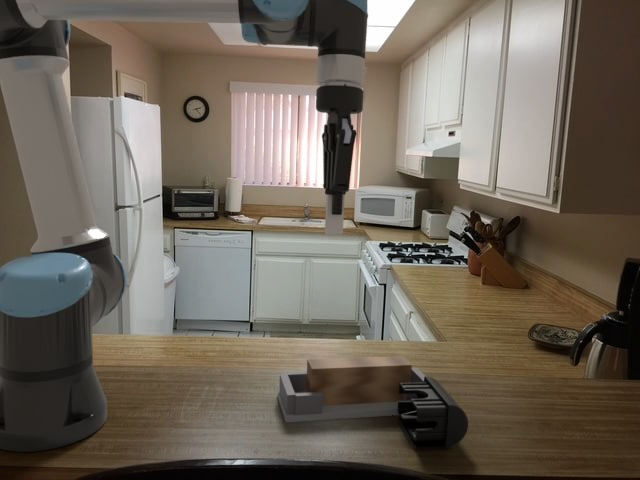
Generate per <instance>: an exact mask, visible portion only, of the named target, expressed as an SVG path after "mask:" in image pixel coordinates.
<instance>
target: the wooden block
mask: <svg viewBox="0 0 640 480" xmlns="http://www.w3.org/2000/svg"><path fill="white" fill-rule="evenodd" d="M306 363H307V365H306V372H307V383H306V393H310V392H322V394H323V400H322V406H327V405H345V404H364V403H383V402H398V401H403V400H404V394H399V383H411V369H412V368H413V364H411V362H410V361H409V360H408V359H406V358H405V357H404V356H403V355H395V356H392V355H391V356H366V357H365V356H364V357H360V356H359V357H340V358H339V357H336V358H333V357H332V358H313V359H312V358H309V359H306Z"/></svg>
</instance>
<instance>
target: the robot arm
mask: <svg viewBox="0 0 640 480" xmlns="http://www.w3.org/2000/svg"><path fill="white" fill-rule="evenodd" d="M368 12H369V11H368V0H0V89H1V93H2V96H3V101H4V104H5V105H4V106H5V108H6V113H7V117H8V120H9V125H10V127H11V133H12V136H13V140H14V144H15V150H16V152H17V156H18V161H19V164H20V165H19V166H20V169H21V171H22V173H21V174H22V177H23V180H24V184H25V189H26V192H27V196H28V201H29V205H30V208H31V212H32V216H33V220H34V224H35V227H36V232H37V240H36V241H35V242H34V243H33V245H32V247H31V248H30V254H31V255H30V256H20V257H18V258H15V259H13V260H10V261H9V262H6V263H5V264H3V265H2V266H1V267H0V449H1V450H5V451H9V452H10V451H11V452H25V453H26V452H39V451H40V452H41V451H46V450H52V449H57V448H61V447H65V446H68V445H71V444H73V443H77V442H79V441H82V440H83V439H84V440H85V439H86V438H87V437H90V436H92V435H93V434H95V433H96V432H98V431H99V430H100V429H101V428H102V427H103V425H104V424H105V422H106V421H107V419H108V404H107V403H108V402H107V398H106V395H105V393H104V390H103V388H102V385H101V383H100V379H99V377H98V375H97V373H96V370H95V368H94V354H93V352H94V349H93V347H94V345H93V327H94V326H95V325H97V323H99V322H100V321H101V320H102V319H103V318H104V317H106V316H108V315H109V314H110V313H111V312H112V311H114V309H115V308H116V307H117V306H118V305H119V303H120V301H121V300H122V298H123V296H124V294H125V292H126V288H127V280H128V279H127V271H126V268H125V266H124V265H125V264H124V263H123V261H122V260H121V259H120V257H119V256H118V255H117V254H115V253H114V251H113V248H112V243H111V238H110V234H109V233H107V232H106V231H105V230H103V229H102V228H99V227H98V226H97V222H96V218H95V213H94V209H93V206H92V205H93V204H92V201H91V197H90V192H89V191H90V190H89V188H88V183H87V180H86V175H85V169H84V165H83V162H82V158H81V154H80V148H79V145H78V144H79V143H78V140H77V136H76V131H75V127H74V123H73V118H72V115H71V114H72V113H71V109H70V105H69V102H68V96H67V94H66V93H67V92H66V89H65V88H66V87H65V83H64V79H63V75H64V73H65V72H66V71H67V69H68V67H70V63H71V62H70V61H69V60H70V59H69V56H68V55H69V53H68V50H67V46H68V45H69V42H70V39H71V24H70V23H71V22H70V21H91V22H92V21H94V22H95V21H96V22H97V21H99V22H143V23H144V22H145V23H146V22H147V23H148V22H149V23H150V22H151V23H153V22H154V23H155V22H156V23H194V24H195V23H197V24H198V23H199V24H200V23H202V24H240V27H241V37H242V39H243V40H244V41H245V42H246V43H252V44H259V45H263V46H267V45H270V46H271V45H272V46H273V45H274V46H291V47H294V46H295V47H297V46H298V47H311V48H312V47H315V48H317V58H316V84H318V85H319V87H317V88H316V95H315V109H316V111H317V112H318V113H322V114H323V113H324V114H327V121H326V123H324V125H323V132H322V134H321V139H322V155H323V157H322V159H323V162H322V163H323V165H322V167H323V168H322V170H323V176H322V177H323V184H322V187H323V189H324V194H325V215H324V216H325V220H324V221H325V223H324V234H325V235H328V236H333V235H334V236H336V235H337V236H339V235H341V236H343V235H344V218H345V217H344V216H345V196H346V193H348V192H349V191H350V185H351V184H350V183H351V182H350V181H351V175H352V165H353V157H354V156H353V155H354V147H355V142H356V137H357V130H356V129H354V125H353V124H352V115H356V114H362V112H363V111H364V92H365V91H364V90H363V89H362V88H361V87H362V86H363V85H364V83H365V74H367V73H368V69H369V68H368V67H366V66H365V63H366V62H365V61H366V51H367V50H366V49H367V47H366V46H367V32H368V19H369V13H368Z"/></svg>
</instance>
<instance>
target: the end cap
mask: <svg viewBox="0 0 640 480" xmlns="http://www.w3.org/2000/svg"><path fill="white" fill-rule="evenodd" d="M399 394H416V395H417V398H416V399H411V401H398V414H399V415H398V417H397V421H398V424H399V426H400V427H401V429H402V430H403V432H404V434H405V436H406V438H407V439H408V441H409V443H410V445H411V446H412V448H413V450H415V451H417V452H431V451H433V452H435V451H446V450H449V449H450V448H452V447H453V446H456V445H457V444H459V443H460V442H461V441H463V440H464V438H465V437H466V435H467V432H468V429H469V419H468V416H467V414H466V412H465V410H463V409H462V407H461V406H460V405H459V404H458V403H457V402H456V400H455V399H454V398H453V396H451V395H450V393H449V392H448V391H447V390H446V389H445V388H444V387H443V386H442V384H441V383H440V382H439V381H438V380H437V379H435V378H433V377H431V376H427V375H425V377H424V383H399Z"/></svg>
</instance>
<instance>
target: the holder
mask: <svg viewBox="0 0 640 480" xmlns="http://www.w3.org/2000/svg"><path fill="white" fill-rule="evenodd" d="M425 376H426V375H425V374H424V373H423V372H422V371H421V370H420V369H419V367H412V369H411V383H424V377H425ZM306 383H307V371H291V372H290V371H288V372H286V373H280V374H279V389H278V390H277V399H278V402H279V406H280V408H281V411H282V412H281V413H282V416H283V419H284V421H285V423H299V422H300V423H301V422H313V421H315V422H316V421H329V420H332V421H333V420H345V419H359V418H373V417H375V418H376V417H377V418H378V417H390V416H391V417H392V415H393V416H399V414H398V402H383V403H364V404H345V405H327V406H322V400H323V394H322V392H310V393H306ZM416 398H417V395H416V394H404V400H403V401H411V399H416Z"/></svg>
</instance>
